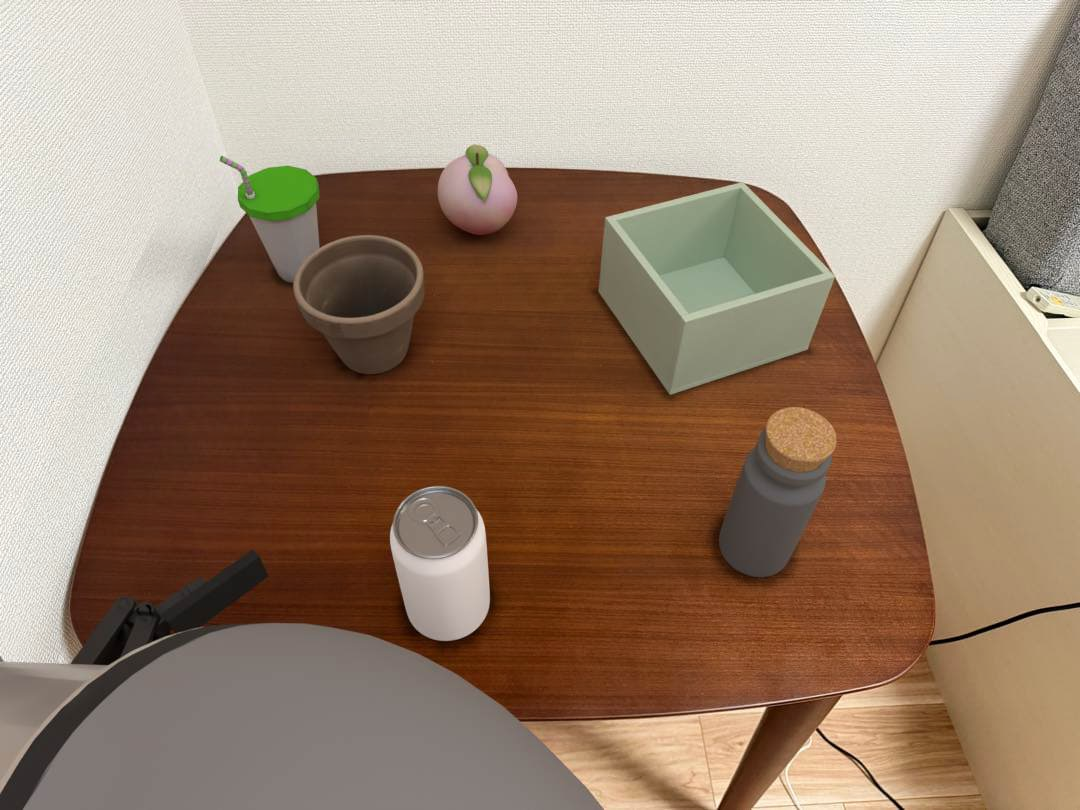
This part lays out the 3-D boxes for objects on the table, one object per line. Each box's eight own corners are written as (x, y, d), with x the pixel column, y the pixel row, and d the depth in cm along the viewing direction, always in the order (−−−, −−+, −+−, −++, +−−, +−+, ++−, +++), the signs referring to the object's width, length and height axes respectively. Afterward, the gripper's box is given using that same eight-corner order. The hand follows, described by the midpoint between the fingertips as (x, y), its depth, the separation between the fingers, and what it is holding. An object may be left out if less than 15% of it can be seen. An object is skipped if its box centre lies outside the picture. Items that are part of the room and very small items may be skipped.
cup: (345, 249, 90) (318, 126, 79) (326, 297, 85) (294, 173, 74) (275, 243, 91) (239, 120, 79) (252, 291, 86) (210, 167, 74)
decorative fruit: (433, 212, 95) (425, 135, 87) (501, 200, 96) (499, 123, 89) (452, 264, 89) (445, 185, 81) (524, 250, 90) (524, 172, 83)
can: (452, 551, 66) (441, 464, 57) (507, 604, 63) (505, 521, 54) (389, 603, 63) (366, 519, 54) (443, 661, 60) (429, 583, 51)
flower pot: (386, 415, 75) (371, 337, 67) (290, 369, 79) (264, 290, 71) (455, 337, 82) (448, 259, 74) (363, 298, 85) (347, 219, 77)
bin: (807, 349, 81) (835, 276, 74) (669, 395, 77) (685, 321, 70) (725, 255, 90) (743, 181, 83) (598, 291, 86) (605, 217, 79)
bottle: (703, 543, 67) (740, 429, 55) (748, 503, 69) (793, 387, 58) (759, 592, 64) (811, 483, 53) (804, 549, 67) (863, 436, 55)
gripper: (-77, 752, 50) (230, 538, 60) (120, 1140, 39) (457, 799, 49) (-156, 708, 44) (199, 480, 54) (51, 1149, 33) (449, 761, 43)
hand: (322, 631), depth 51 cm, fingers open, 13 cm apart
